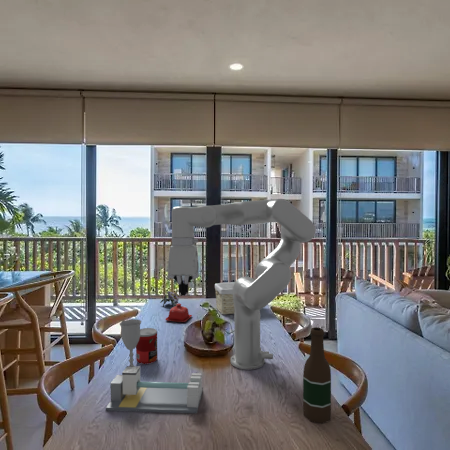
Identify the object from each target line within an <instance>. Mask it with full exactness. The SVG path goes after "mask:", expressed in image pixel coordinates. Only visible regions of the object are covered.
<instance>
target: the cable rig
mask: <svg viewBox="0 0 450 450" xmlns="http://www.w3.org/2000/svg"><path fill="white" fill-rule="evenodd" d="M202 376H203V375H202V373H201V372H200V373H199V372H198V373H197V372H196V373H195V372H192V373H191V375H190V381H189V382H175V381H174V382H171V381H170V382H167V381H166V382H165V381H140V382H137V387H139V388H140V389H139V391H138V392H137V394H136V395H128V394H123V381H122V374H116V375H115V376H114V378H113V379H112V381H111V382H110V384H109V385H110V401H109V403H108V404H107V405H106V407H105V411H110V412H111V411H112V412H114V411H115V412H139V413H141V412H145V413H170V414H171V413H173V414H177V413H178V414H198V412H199V406H200V403H201V399H202V394H203V388H204V387H203V377H202Z"/></svg>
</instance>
